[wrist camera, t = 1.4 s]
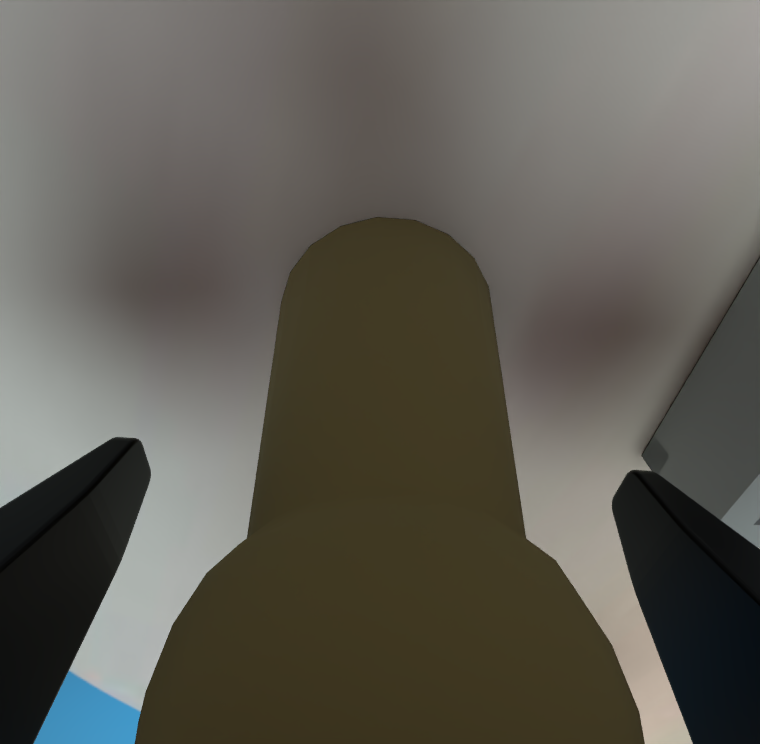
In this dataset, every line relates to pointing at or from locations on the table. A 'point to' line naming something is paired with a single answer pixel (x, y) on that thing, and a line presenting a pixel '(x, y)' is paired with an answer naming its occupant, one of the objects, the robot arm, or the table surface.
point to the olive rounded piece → (387, 536)
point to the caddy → (719, 422)
